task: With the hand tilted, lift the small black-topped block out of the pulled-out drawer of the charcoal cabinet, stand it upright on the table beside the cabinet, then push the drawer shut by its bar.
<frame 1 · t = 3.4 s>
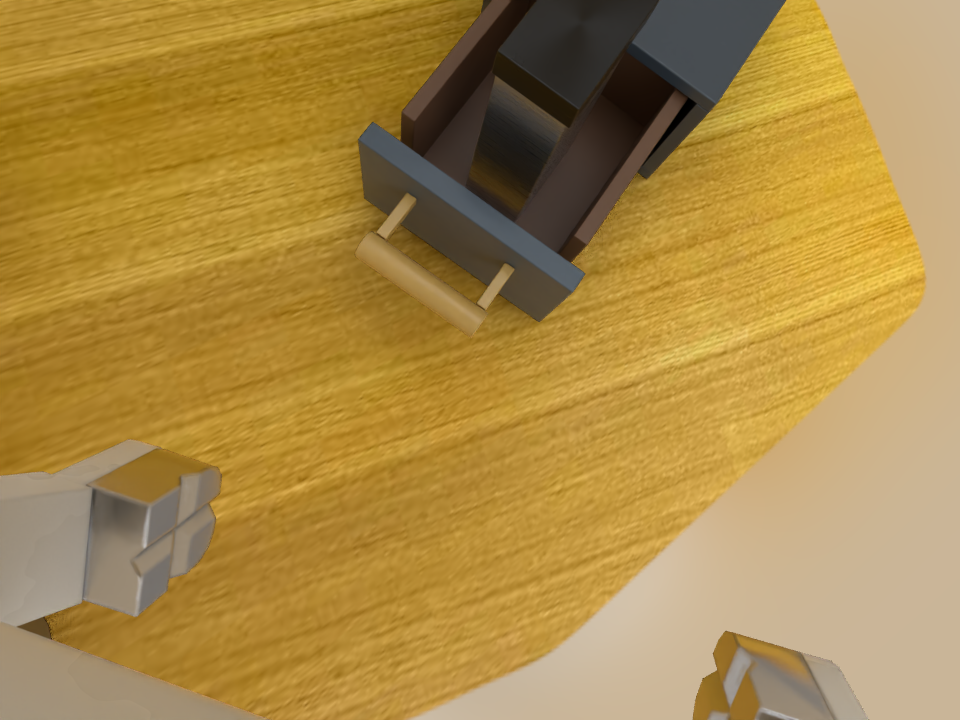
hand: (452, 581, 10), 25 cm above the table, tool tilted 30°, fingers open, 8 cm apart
cabinet: (623, 31, 41), on the table
drawer: (512, 167, 33), point 4 cm above the table, slide at 11.0 cm, touching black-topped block
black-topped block: (517, 169, 36), point 2 cm above the table, touching drawer
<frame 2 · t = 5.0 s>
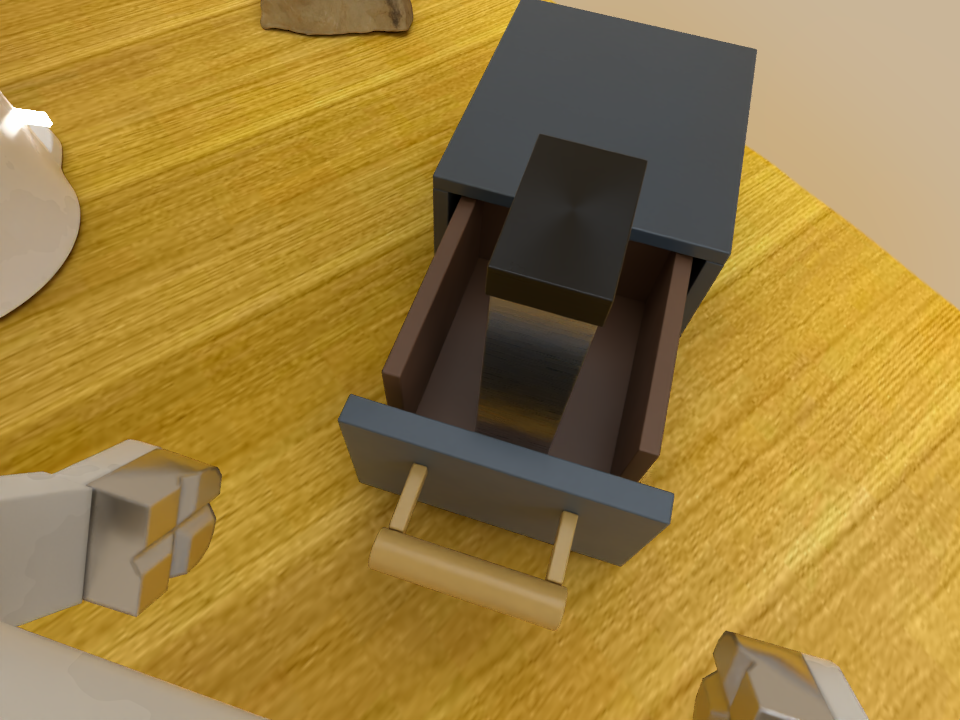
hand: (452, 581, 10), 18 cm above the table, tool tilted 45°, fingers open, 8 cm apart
cabinet: (578, 224, 38), on the table
drawer: (525, 392, 27), point 4 cm above the table, slide at 11.0 cm, touching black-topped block
rock: (342, 26, 48), on the table
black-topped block: (526, 391, 30), point 2 cm above the table, touching drawer
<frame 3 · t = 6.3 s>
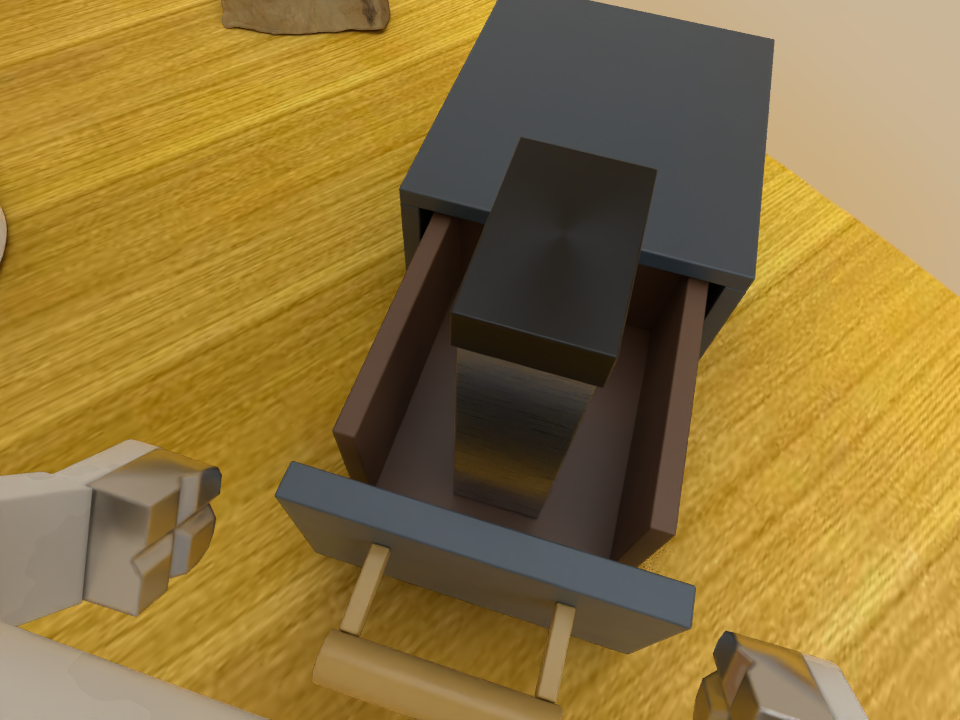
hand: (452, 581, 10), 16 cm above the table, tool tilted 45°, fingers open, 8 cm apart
cabinet: (573, 239, 34), on the table
drawer: (511, 445, 23), point 4 cm above the table, slide at 11.0 cm, touching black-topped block
rock: (313, 24, 44), on the table
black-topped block: (514, 439, 26), point 2 cm above the table, touching drawer
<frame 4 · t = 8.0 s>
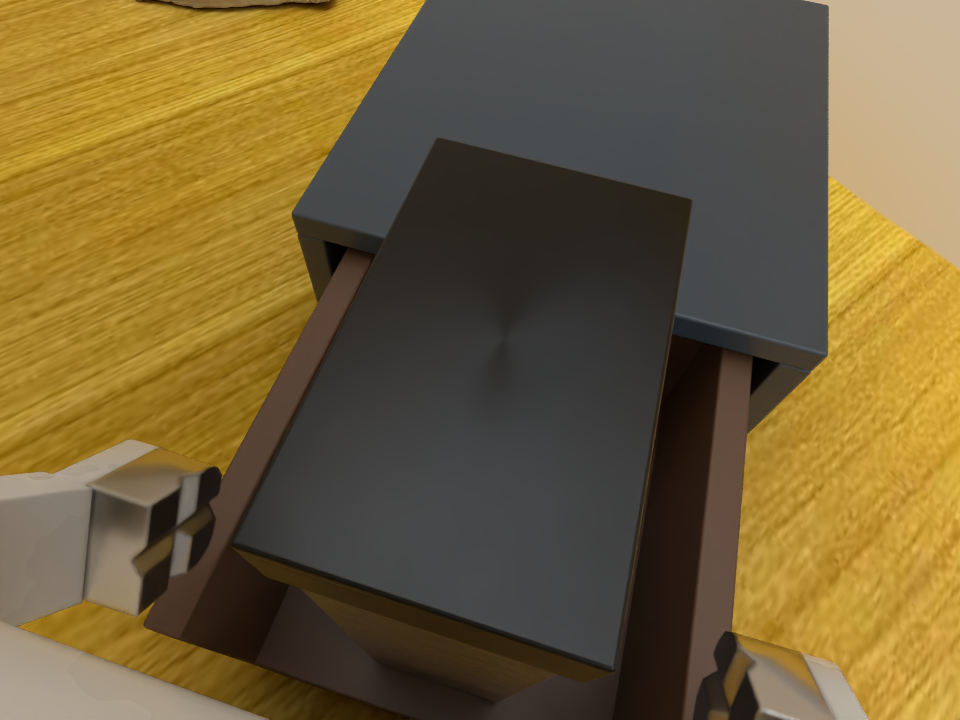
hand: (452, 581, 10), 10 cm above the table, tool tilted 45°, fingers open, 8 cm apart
cabinet: (560, 269, 26), on the table
drawer: (455, 603, 15), point 4 cm above the table, slide at 11.0 cm, touching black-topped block
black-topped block: (468, 570, 18), point 2 cm above the table, touching drawer
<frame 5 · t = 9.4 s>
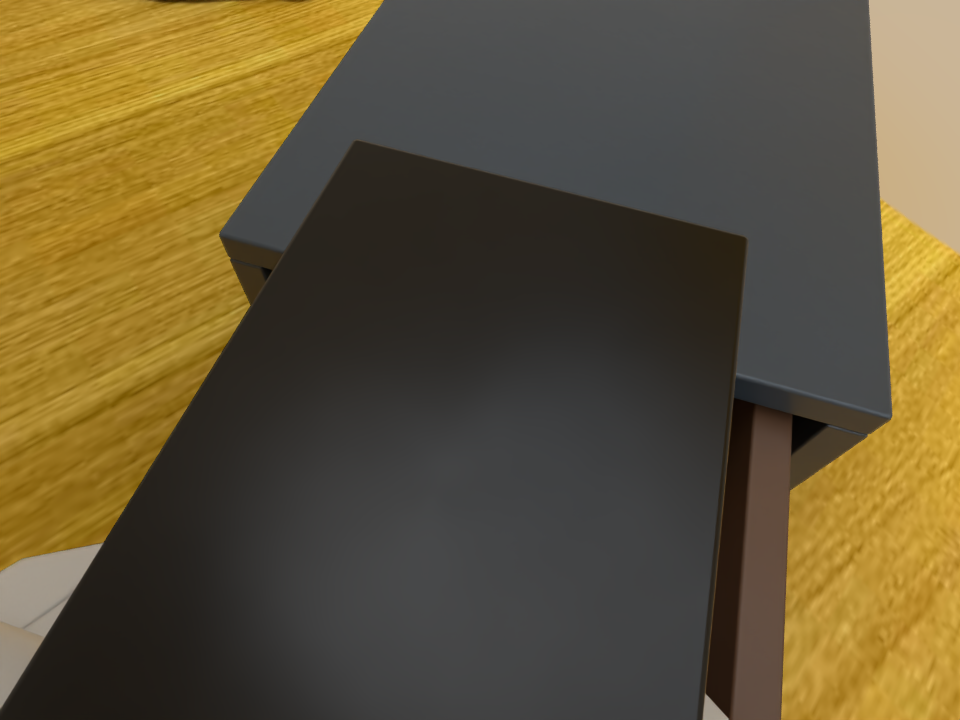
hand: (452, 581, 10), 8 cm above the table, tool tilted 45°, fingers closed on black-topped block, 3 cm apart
cabinet: (556, 289, 23), on the table
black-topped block: (442, 663, 15), point 2 cm above the table, touching drawer, gripper
when the fingers open (6 cm above the table, at t = 17.7 s): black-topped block stays where it is, on the table.
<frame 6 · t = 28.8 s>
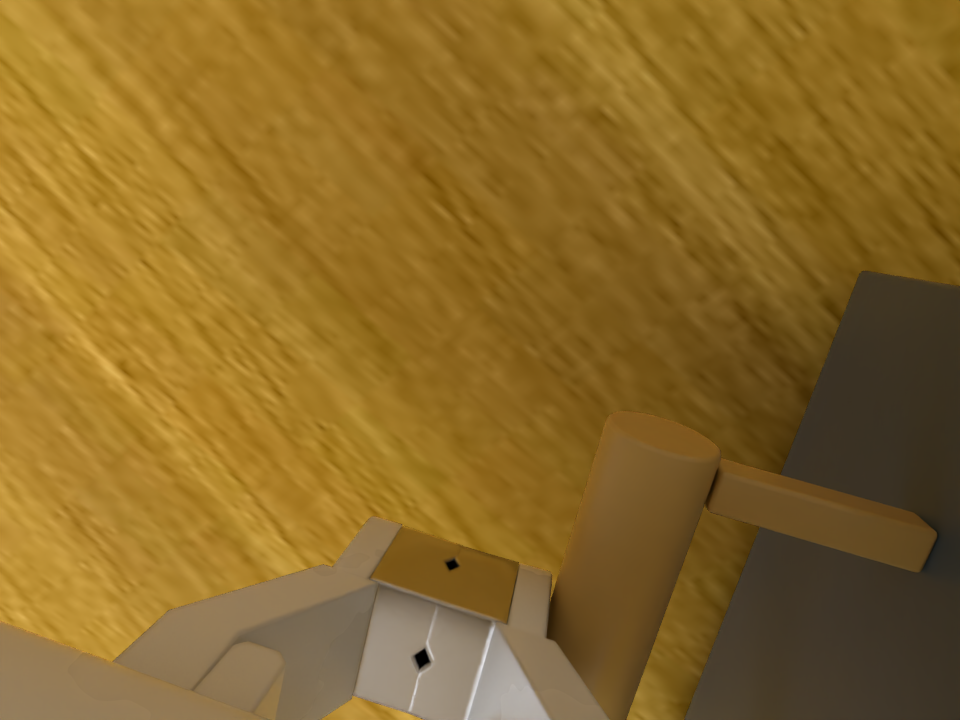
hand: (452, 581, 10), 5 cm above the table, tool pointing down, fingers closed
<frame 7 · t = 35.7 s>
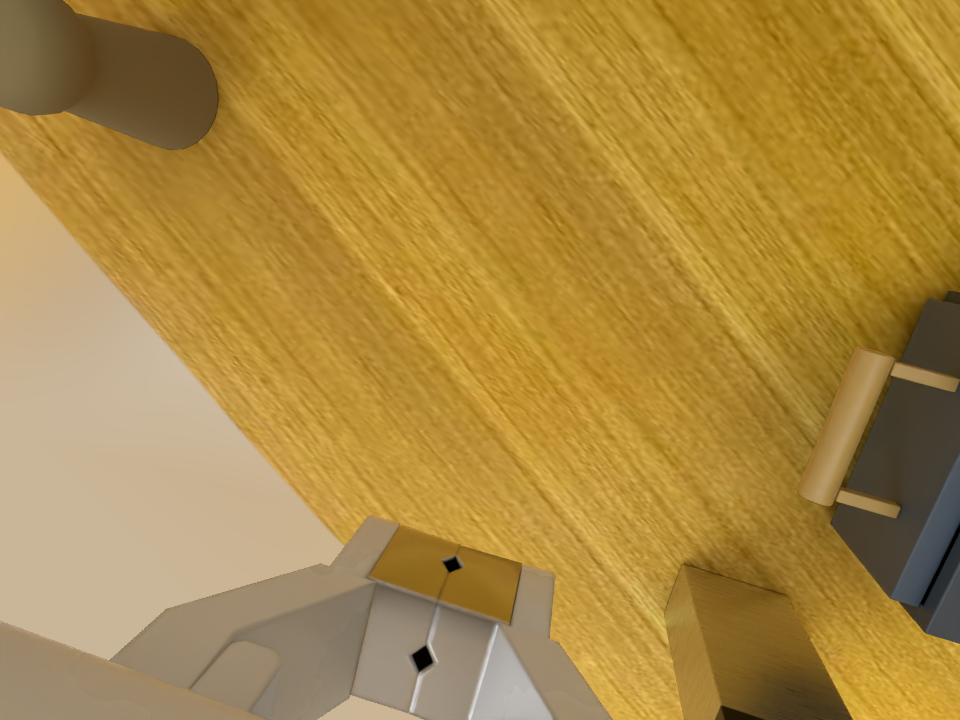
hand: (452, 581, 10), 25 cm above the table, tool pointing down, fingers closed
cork: (171, 94, 35), on the table
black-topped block: (724, 605, 35), on the table
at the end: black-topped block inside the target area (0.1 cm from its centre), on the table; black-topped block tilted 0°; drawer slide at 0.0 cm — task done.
